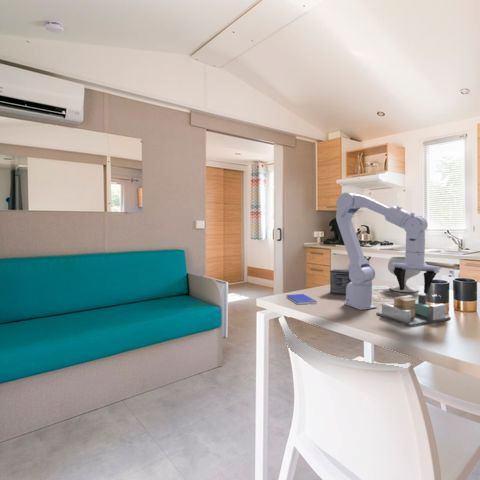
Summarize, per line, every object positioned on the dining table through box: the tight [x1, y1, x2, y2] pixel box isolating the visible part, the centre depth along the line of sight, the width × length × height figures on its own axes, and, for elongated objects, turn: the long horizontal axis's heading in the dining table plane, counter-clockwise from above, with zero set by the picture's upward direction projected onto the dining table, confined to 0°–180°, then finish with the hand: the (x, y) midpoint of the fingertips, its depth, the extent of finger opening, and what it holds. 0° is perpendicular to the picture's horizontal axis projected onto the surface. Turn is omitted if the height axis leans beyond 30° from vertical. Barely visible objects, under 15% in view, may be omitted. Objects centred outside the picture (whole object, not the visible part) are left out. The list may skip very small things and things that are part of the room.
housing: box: [393, 296, 416, 318], centre depth 111 cm, size 4×4×6 cm
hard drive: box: [286, 293, 318, 306], centre depth 136 cm, size 2×8×12 cm
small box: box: [329, 268, 352, 296], centre depth 147 cm, size 11×6×10 cm, turn 58°
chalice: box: [387, 256, 422, 293], centre depth 152 cm, size 14×14×15 cm
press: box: [376, 294, 452, 328], centre depth 112 cm, size 14×18×5 cm
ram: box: [415, 294, 429, 317], centre depth 114 cm, size 10×4×6 cm, turn 22°
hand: (413, 291), depth 112 cm, fingers open, 7 cm apart
